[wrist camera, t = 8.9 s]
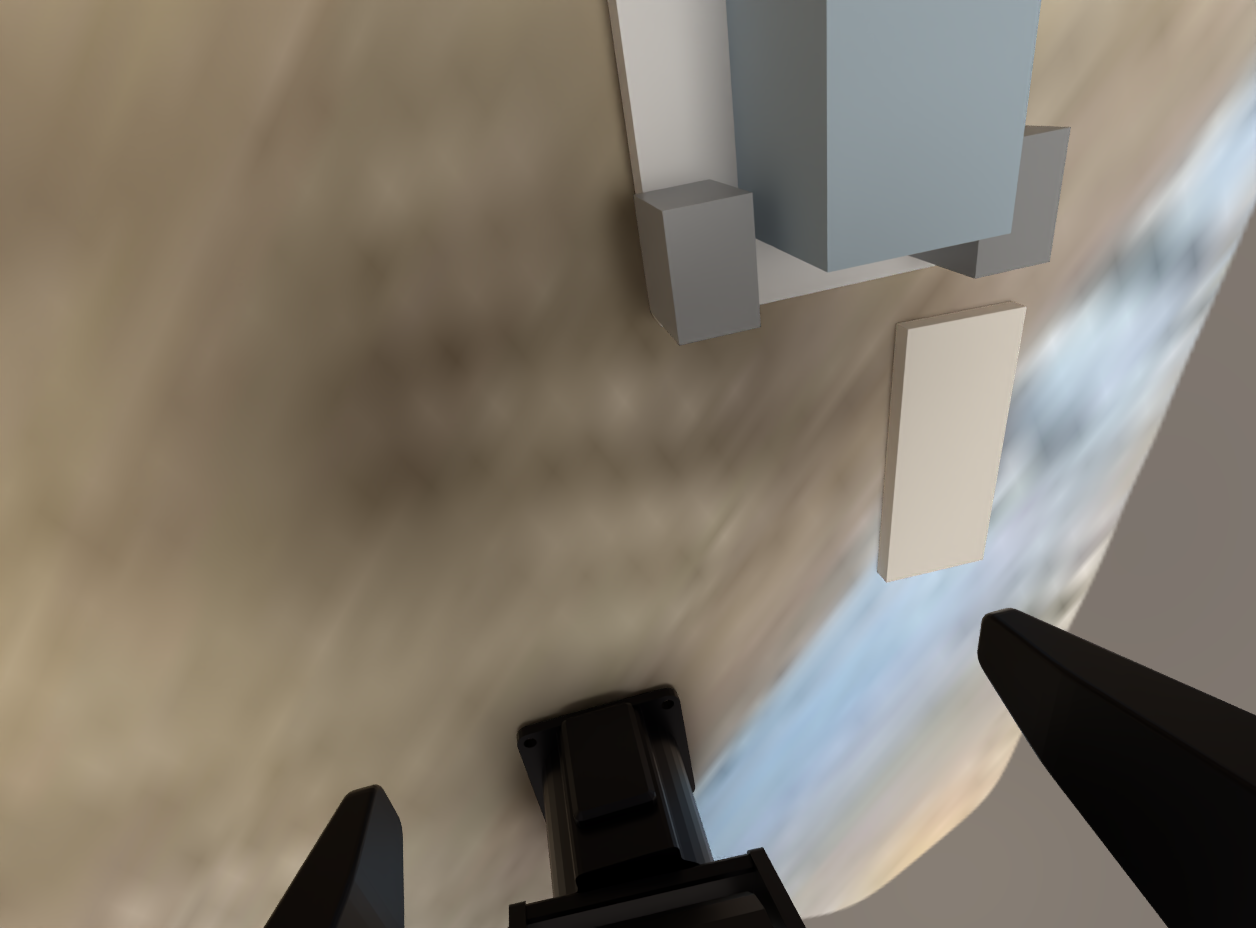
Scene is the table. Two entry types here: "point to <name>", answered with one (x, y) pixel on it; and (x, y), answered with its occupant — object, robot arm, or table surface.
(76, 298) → the table surface
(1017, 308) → the plank
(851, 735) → the table surface
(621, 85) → the jig
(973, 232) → the grey rectangular block
